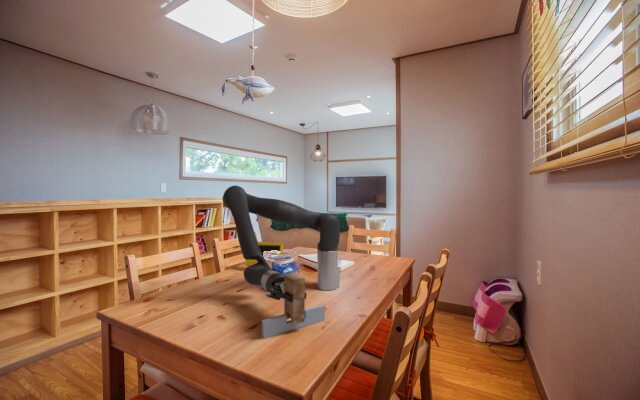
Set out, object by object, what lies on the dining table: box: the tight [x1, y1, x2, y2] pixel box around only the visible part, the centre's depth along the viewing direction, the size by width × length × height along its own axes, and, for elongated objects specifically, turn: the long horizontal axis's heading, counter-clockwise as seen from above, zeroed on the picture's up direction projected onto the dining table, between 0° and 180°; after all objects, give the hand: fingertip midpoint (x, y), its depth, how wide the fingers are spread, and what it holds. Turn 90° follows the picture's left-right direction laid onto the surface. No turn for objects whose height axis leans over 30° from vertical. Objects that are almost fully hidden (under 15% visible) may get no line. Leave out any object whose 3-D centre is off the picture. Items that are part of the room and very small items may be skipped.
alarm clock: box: [244, 241, 284, 267], centre depth 165 cm, size 20×8×16 cm, turn 80°
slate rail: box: [261, 304, 326, 339], centre depth 97 cm, size 22×2×5 cm, turn 124°
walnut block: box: [283, 273, 306, 325], centre depth 97 cm, size 4×6×14 cm, turn 34°
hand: (298, 297), depth 94 cm, fingers closed on walnut block, 4 cm apart
